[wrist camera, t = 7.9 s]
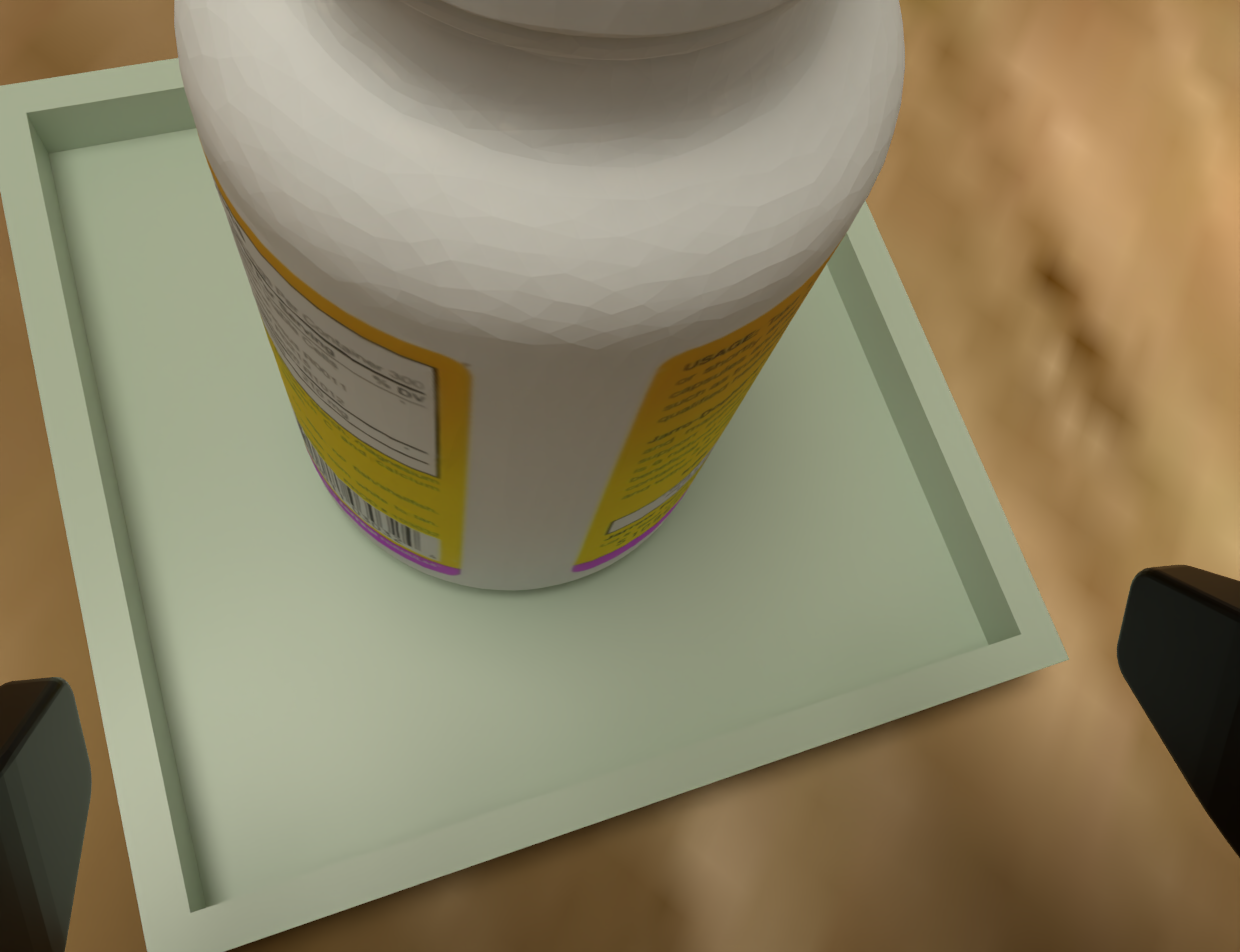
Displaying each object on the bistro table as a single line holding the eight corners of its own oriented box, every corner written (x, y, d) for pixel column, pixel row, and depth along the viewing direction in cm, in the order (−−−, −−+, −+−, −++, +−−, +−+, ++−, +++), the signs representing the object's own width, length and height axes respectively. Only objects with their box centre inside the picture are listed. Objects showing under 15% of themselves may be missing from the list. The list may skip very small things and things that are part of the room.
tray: (740, 25, 23) (761, -34, 22) (1019, 676, 19) (1069, 659, 18) (15, 148, 20) (-20, 88, 18) (179, 966, 16) (152, 976, 14)
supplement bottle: (695, 253, 20) (1056, -624, 8) (702, 609, 18) (1202, 106, 6) (320, 220, 20) (126, -815, 8) (279, 591, 17) (-91, -35, 5)
